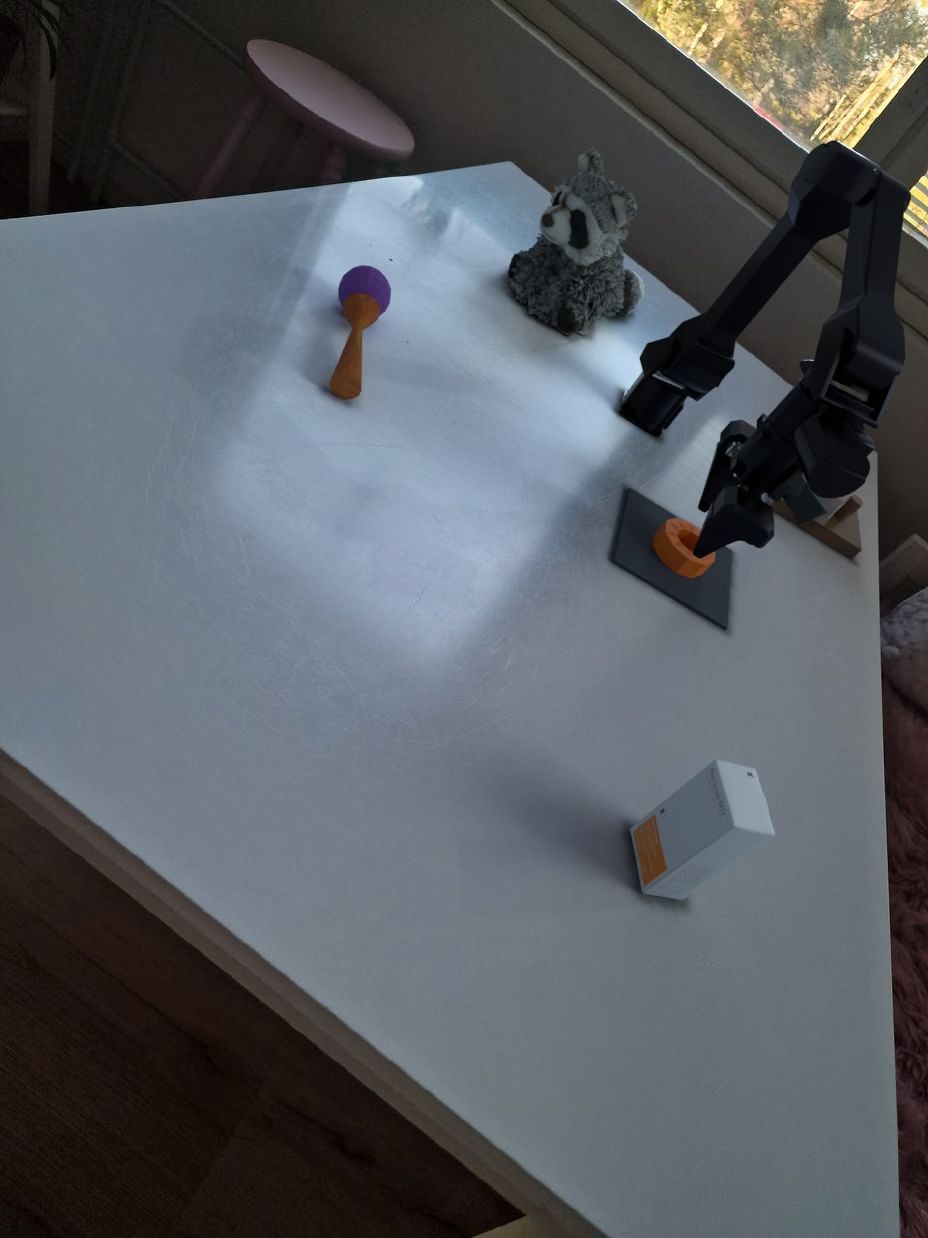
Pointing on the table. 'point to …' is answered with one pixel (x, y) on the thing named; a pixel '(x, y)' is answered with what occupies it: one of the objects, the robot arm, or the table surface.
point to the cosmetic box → (701, 830)
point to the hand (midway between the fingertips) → (698, 532)
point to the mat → (642, 561)
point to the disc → (680, 548)
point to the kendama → (358, 324)
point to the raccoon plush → (580, 254)
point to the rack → (831, 524)
